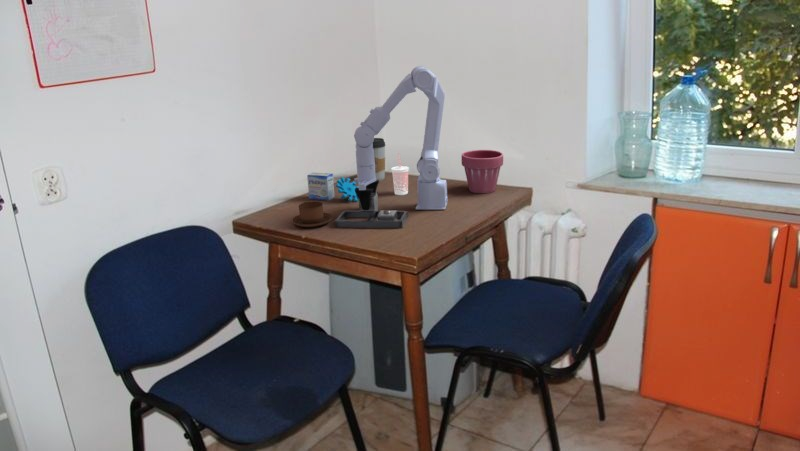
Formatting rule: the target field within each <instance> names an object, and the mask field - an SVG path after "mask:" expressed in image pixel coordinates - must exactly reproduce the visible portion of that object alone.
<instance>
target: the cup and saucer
mask: <svg viewBox="0 0 800 451" xmlns="http://www.w3.org/2000/svg"><path fill="white" fill-rule="evenodd" d="M298 211H299V212H298V214H299V215H298V214H297V215H296V216H294V217H292V223H294V225H296V226H298V227H302V228H315V227H321V226H323V225H326V224H328V223H329V222H330V221H331V220H332V215H331V214H330V213H326V212H324V204H323V202H321V201H315V200H314V201H305V202H301V203H300V204H299V205H298Z"/></svg>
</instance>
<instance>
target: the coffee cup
mask: <svg viewBox="0 0 800 451" xmlns="http://www.w3.org/2000/svg"><path fill="white" fill-rule="evenodd" d="M373 150H374V160H375V175H376V180H379V181H383V180H385V176H386V155H385V154H386V142H385V139H384V138H383V137H382V138H381V137H374V141H373Z"/></svg>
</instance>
